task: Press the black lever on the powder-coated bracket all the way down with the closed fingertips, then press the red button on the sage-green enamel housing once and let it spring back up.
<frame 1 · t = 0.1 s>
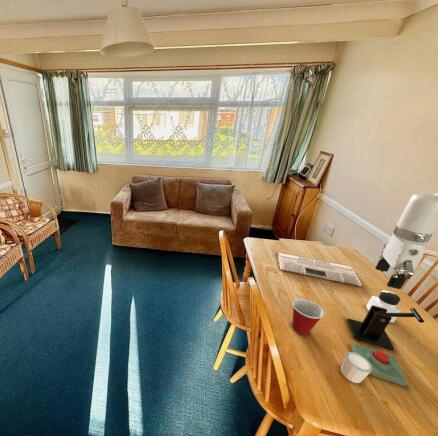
hand: (386, 278, 77), 32 cm above the table, tool pointing down, fingers open, 9 cm apart
white cup: (350, 374, 79), on the table
bracket: (368, 334, 93), on the table
plastic cup: (299, 328, 96), on the table
button: (381, 356, 80), point 4 cm above the table, slide at 0.1 cm
newspaper: (314, 269, 133), on the table
lever: (396, 314, 86), point 13 cm above the table, hinge at 25.0°
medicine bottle: (379, 315, 102), on the table
button box: (375, 365, 82), on the table
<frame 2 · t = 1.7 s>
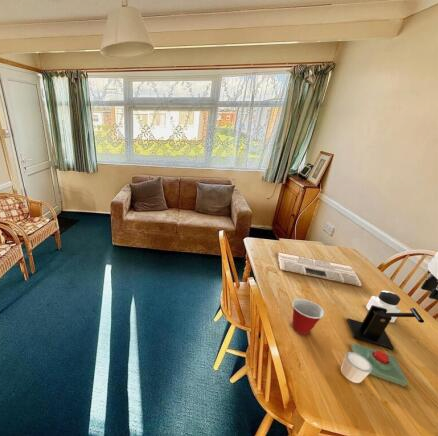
hand: (430, 293, 79), 25 cm above the table, tool pointing down, fingers open, 4 cm apart
nothing on the table moved.
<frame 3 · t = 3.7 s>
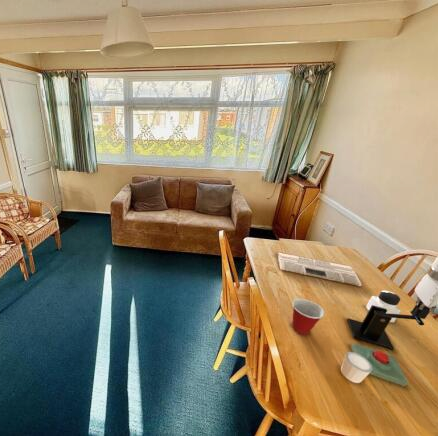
hand: (417, 316, 83), 15 cm above the table, tool pointing down, fingers closed
lever: (396, 316, 86), point 12 cm above the table, hinge at 18.0°, touching gripper
everything else where it was.
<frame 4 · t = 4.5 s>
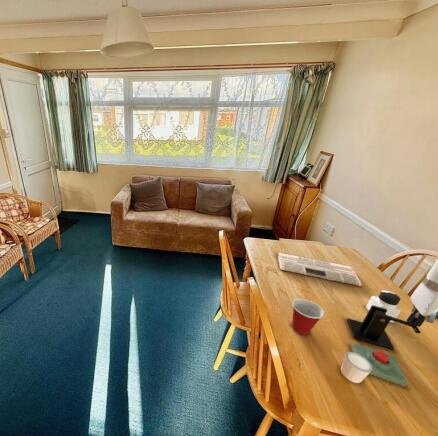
hand: (412, 323, 85), 11 cm above the table, tool pointing down, fingers closed
lever: (395, 319, 87), point 11 cm above the table, hinge at -4.4°, touching gripper
everything else where it was.
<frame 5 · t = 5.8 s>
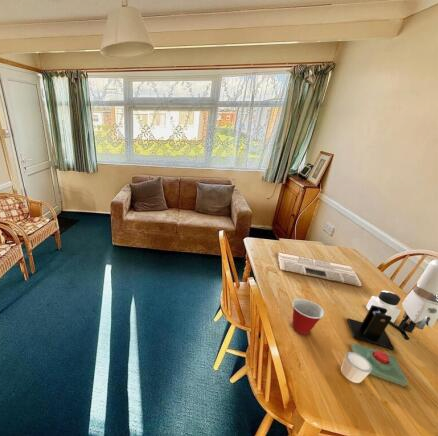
hand: (404, 329, 87), 7 cm above the table, tool pointing down, fingers closed
lever: (390, 322, 88), point 9 cm above the table, hinge at -30.8°, touching gripper
everything else where it was.
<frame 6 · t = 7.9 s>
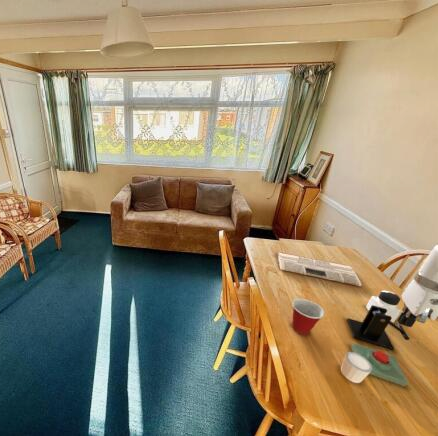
hand: (403, 323, 78), 17 cm above the table, tool pointing down, fingers closed
lever: (390, 322, 88), point 9 cm above the table, hinge at -30.8°
everything else where it was.
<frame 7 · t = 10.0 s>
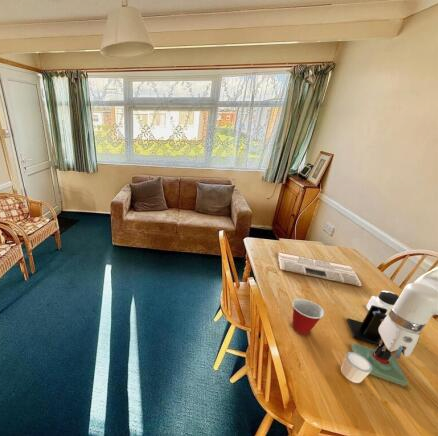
hand: (380, 356, 80), 5 cm above the table, tool pointing down, fingers closed
button: (380, 358, 80), point 4 cm above the table, slide at -0.6 cm, touching gripper
everything else where it was.
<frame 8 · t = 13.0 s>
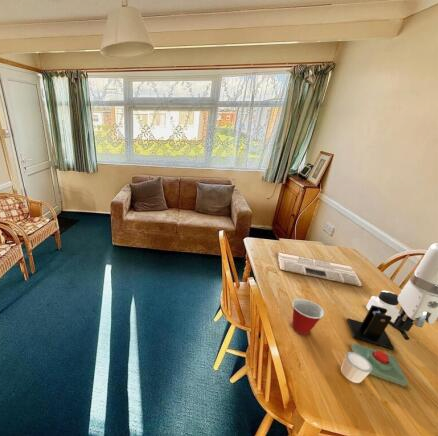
hand: (400, 327, 74), 19 cm above the table, tool pointing down, fingers closed
button: (381, 356, 80), point 4 cm above the table, slide at 0.1 cm
everything else where it was.
at the end: lever at -31° (first picture: +25°); button pushed in 1.1 cm at the most during the clip, back to where it started at the end; button slide at 0.1 cm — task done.
